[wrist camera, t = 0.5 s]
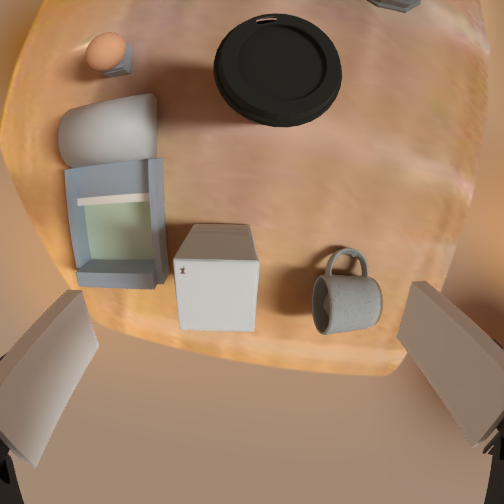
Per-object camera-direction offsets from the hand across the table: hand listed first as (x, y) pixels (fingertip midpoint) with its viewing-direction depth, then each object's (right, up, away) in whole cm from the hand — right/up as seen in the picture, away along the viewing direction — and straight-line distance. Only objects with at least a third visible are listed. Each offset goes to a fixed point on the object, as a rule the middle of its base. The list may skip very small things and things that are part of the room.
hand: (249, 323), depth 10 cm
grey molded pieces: (-17, +15, +23) cm, 32 cm away
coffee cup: (+2, +21, +20) cm, 29 cm away
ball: (-17, +26, +12) cm, 33 cm away
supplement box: (-4, +3, +26) cm, 26 cm away
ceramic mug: (+12, -2, +28) cm, 31 cm away
